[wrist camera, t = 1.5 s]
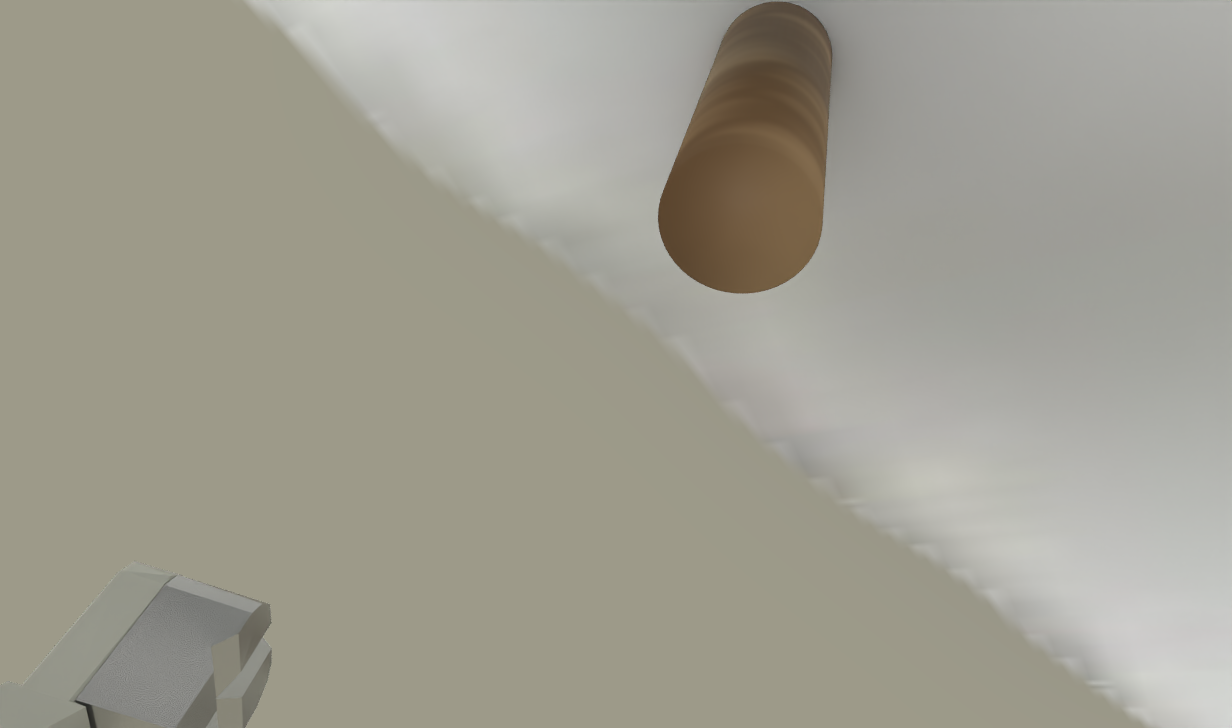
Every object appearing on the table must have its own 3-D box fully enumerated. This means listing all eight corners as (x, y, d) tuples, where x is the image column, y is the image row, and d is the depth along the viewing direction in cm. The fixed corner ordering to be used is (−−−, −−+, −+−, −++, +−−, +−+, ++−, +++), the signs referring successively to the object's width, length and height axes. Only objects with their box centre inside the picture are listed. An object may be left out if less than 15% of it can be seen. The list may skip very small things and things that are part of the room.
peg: (848, 19, 29) (846, 171, 20) (810, 126, 31) (792, 311, 22) (736, -12, 29) (680, 124, 20) (706, 97, 32) (642, 267, 22)
